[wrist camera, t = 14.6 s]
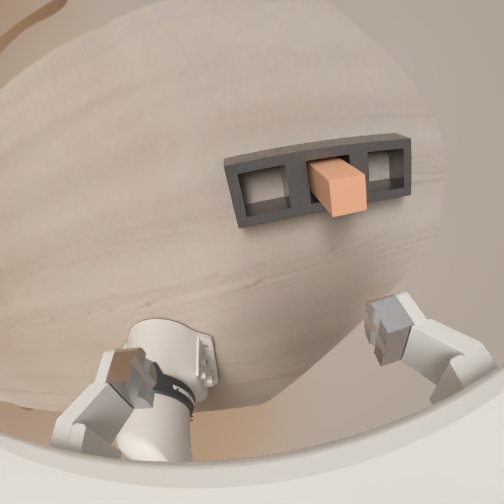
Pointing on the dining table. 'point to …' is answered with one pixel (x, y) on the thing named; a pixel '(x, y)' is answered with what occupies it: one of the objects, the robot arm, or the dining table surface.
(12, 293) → the dining table surface
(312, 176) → the peg
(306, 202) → the rail
